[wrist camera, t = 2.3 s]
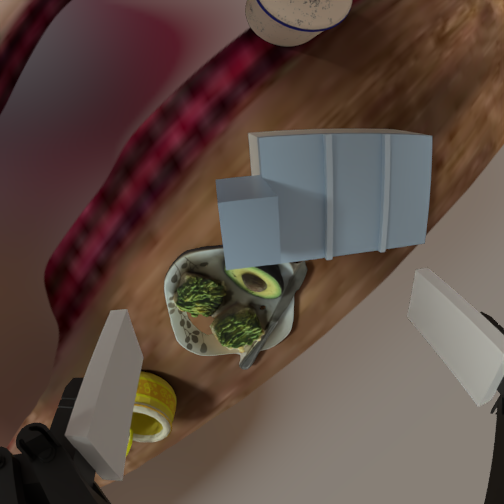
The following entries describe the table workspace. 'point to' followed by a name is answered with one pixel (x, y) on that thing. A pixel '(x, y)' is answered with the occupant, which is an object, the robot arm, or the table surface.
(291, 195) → the light blue l-shaped piece
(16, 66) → the table surface
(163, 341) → the table surface
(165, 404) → the mug
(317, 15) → the teacup with lid
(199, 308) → the salad plate
